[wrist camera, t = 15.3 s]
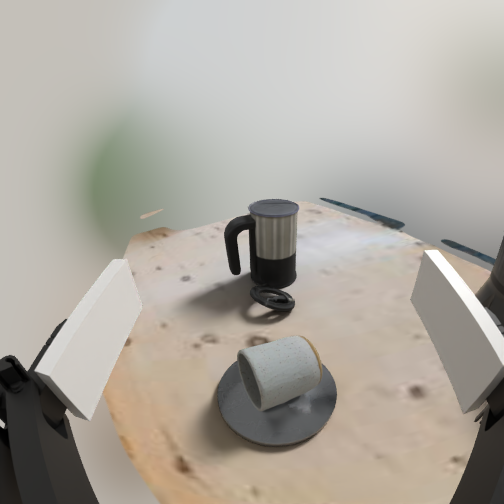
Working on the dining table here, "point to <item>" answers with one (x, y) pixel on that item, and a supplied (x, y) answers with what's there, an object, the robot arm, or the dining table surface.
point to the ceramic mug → (279, 370)
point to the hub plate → (276, 411)
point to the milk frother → (267, 249)
